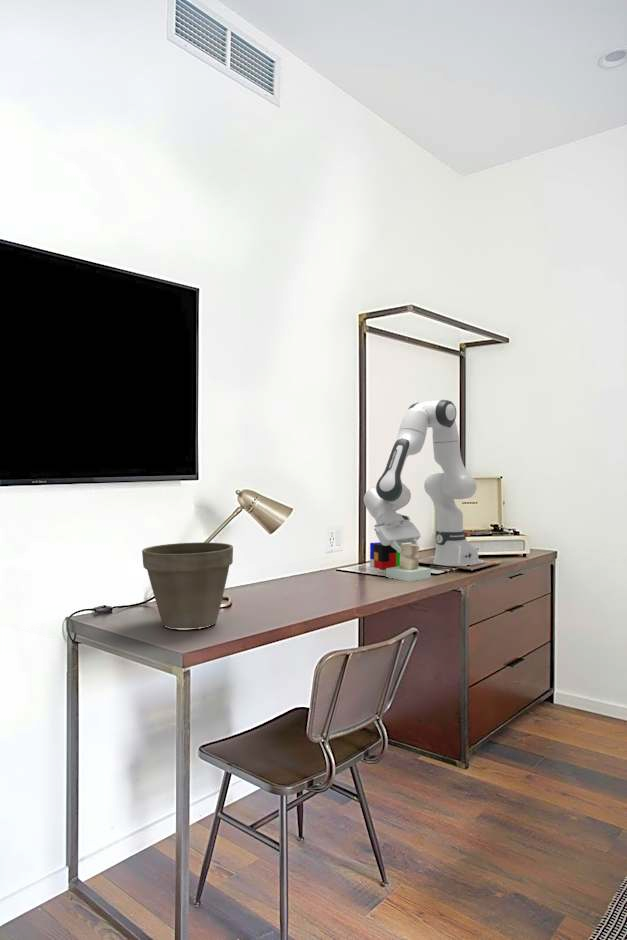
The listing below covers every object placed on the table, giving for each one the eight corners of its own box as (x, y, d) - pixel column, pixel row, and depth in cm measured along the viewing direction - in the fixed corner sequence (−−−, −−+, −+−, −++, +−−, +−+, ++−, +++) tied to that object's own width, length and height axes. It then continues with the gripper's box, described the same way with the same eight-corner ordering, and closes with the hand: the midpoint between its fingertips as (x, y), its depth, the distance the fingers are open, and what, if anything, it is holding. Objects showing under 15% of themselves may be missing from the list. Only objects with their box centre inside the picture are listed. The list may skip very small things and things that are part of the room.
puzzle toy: (370, 566, 289) (370, 542, 289) (390, 564, 293) (390, 541, 293) (382, 570, 280) (382, 545, 280) (403, 568, 284) (403, 544, 284)
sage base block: (406, 575, 271) (406, 564, 271) (430, 579, 262) (430, 568, 262) (385, 578, 263) (385, 568, 263) (409, 583, 254) (409, 572, 254)
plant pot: (123, 627, 187) (122, 548, 187) (188, 610, 208) (187, 539, 207) (189, 641, 173) (188, 555, 173) (251, 621, 194) (251, 545, 193)
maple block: (408, 566, 265) (408, 543, 265) (418, 568, 262) (418, 545, 261) (399, 568, 262) (400, 544, 262) (409, 570, 258) (410, 546, 258)
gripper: (376, 519, 260) (395, 547, 253) (411, 516, 274) (430, 543, 266) (367, 530, 263) (386, 558, 256) (402, 526, 277) (421, 553, 270)
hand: (409, 550), depth 262 cm, fingers open, 8 cm apart
